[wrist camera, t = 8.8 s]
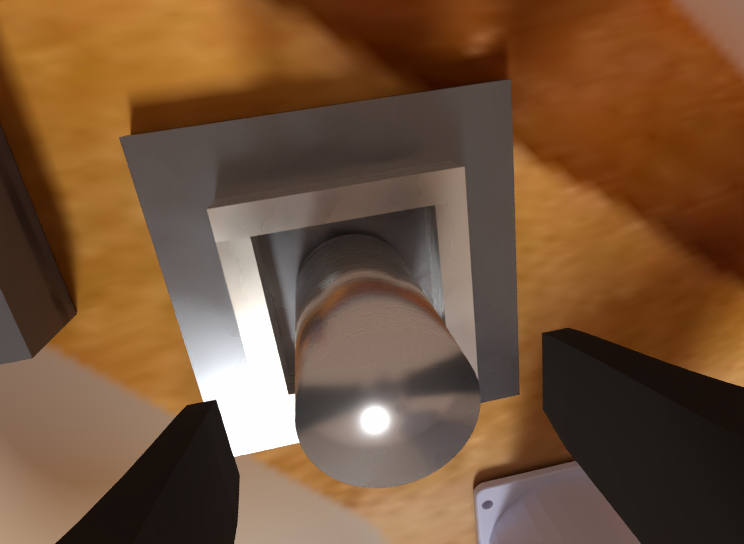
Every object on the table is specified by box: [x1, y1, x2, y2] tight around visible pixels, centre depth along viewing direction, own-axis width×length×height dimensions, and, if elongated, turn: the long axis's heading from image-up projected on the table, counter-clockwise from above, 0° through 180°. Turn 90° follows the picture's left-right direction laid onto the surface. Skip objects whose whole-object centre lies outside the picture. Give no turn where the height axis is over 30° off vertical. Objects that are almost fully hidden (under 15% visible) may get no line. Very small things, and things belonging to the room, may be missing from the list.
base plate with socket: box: [119, 79, 520, 456], centre depth 16 cm, size 12×12×2 cm
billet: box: [295, 234, 481, 488], centre depth 13 cm, size 4×4×7 cm
